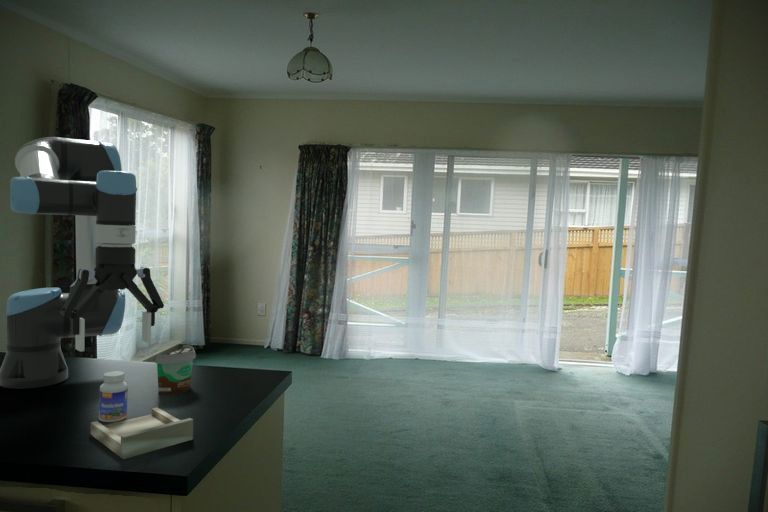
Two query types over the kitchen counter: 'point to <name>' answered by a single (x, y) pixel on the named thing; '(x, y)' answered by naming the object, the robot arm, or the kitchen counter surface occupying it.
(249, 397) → the kitchen counter surface
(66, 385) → the kitchen counter surface
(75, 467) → the kitchen counter surface
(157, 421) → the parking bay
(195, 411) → the kitchen counter surface
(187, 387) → the food container
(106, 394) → the pill bottle
